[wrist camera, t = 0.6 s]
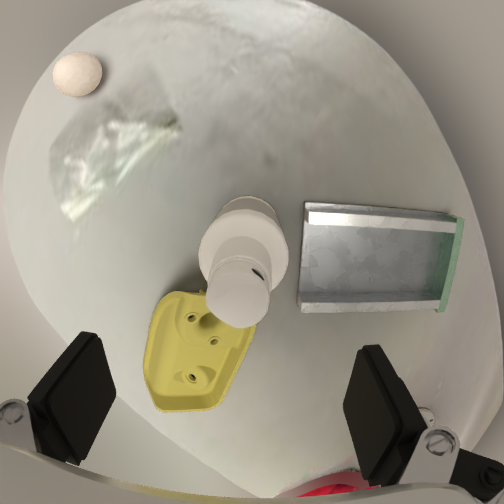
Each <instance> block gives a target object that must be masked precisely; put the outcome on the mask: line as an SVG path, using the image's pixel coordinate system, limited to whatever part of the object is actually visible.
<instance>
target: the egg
mask: <svg viewBox="0 0 504 504" xmlns="http://www.w3.org/2000/svg"><path fill="white" fill-rule="evenodd" d="M52 77H53V81H54V84H55V86H56V87H57V89H58V90H59V91H60V92H62V93H63V94H65V95H68V96H72V97H80V96H84V95H87V94H89V93H91V92H92V91H93V90H94V89H95V88H96V87H97V86H98V84H99V83H100V80H101V77H102V67H101V64H100V62H99V60H98V59H97V58H96V57H94V56H93V55H91V54H89V53H85V52H74V53H70V54H67V55H65V56H64V57H62V58H61V59H59V60H58V62H57V63H56V64H55V66H54V69H53V73H52Z"/></svg>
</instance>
